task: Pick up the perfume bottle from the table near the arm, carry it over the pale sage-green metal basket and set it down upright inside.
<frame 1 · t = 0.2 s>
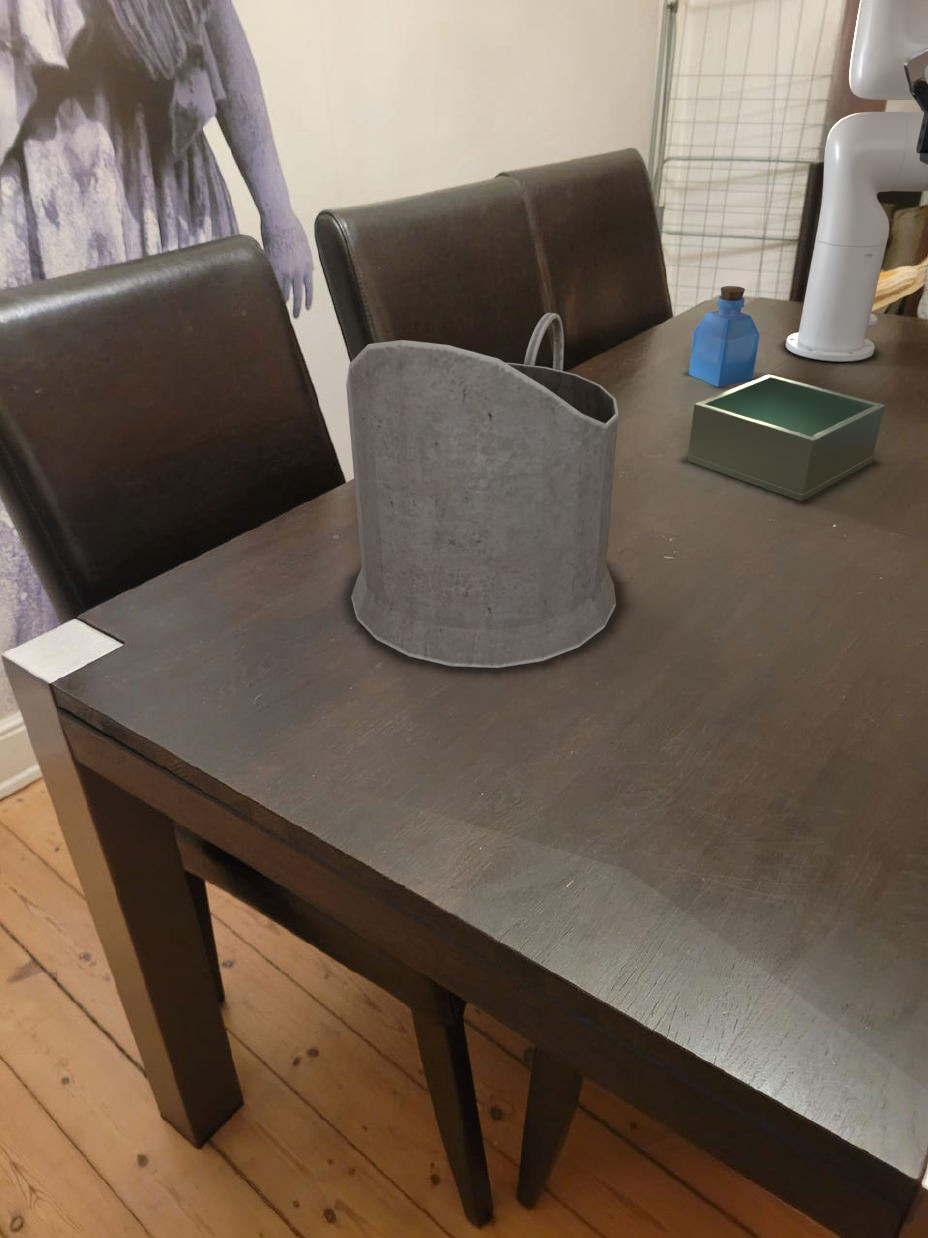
perfume bottle: (720, 378, 130), on the table
coal scuttle: (500, 571, 86), on the table
basket: (778, 461, 105), on the table
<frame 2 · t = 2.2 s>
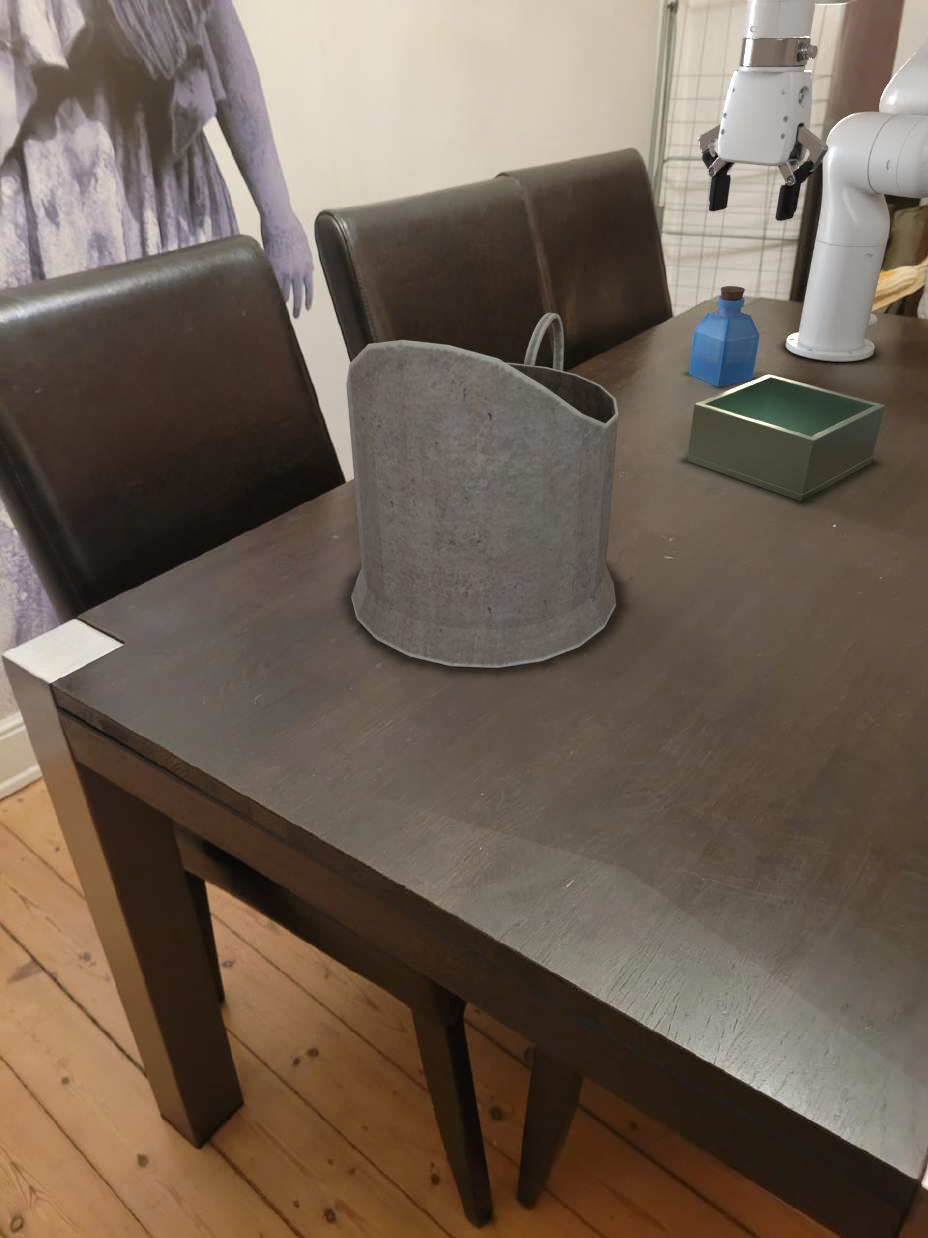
hand: (750, 214, 117), 21 cm above the table, tool pointing down, fingers open, 9 cm apart
nothing on the table moved.
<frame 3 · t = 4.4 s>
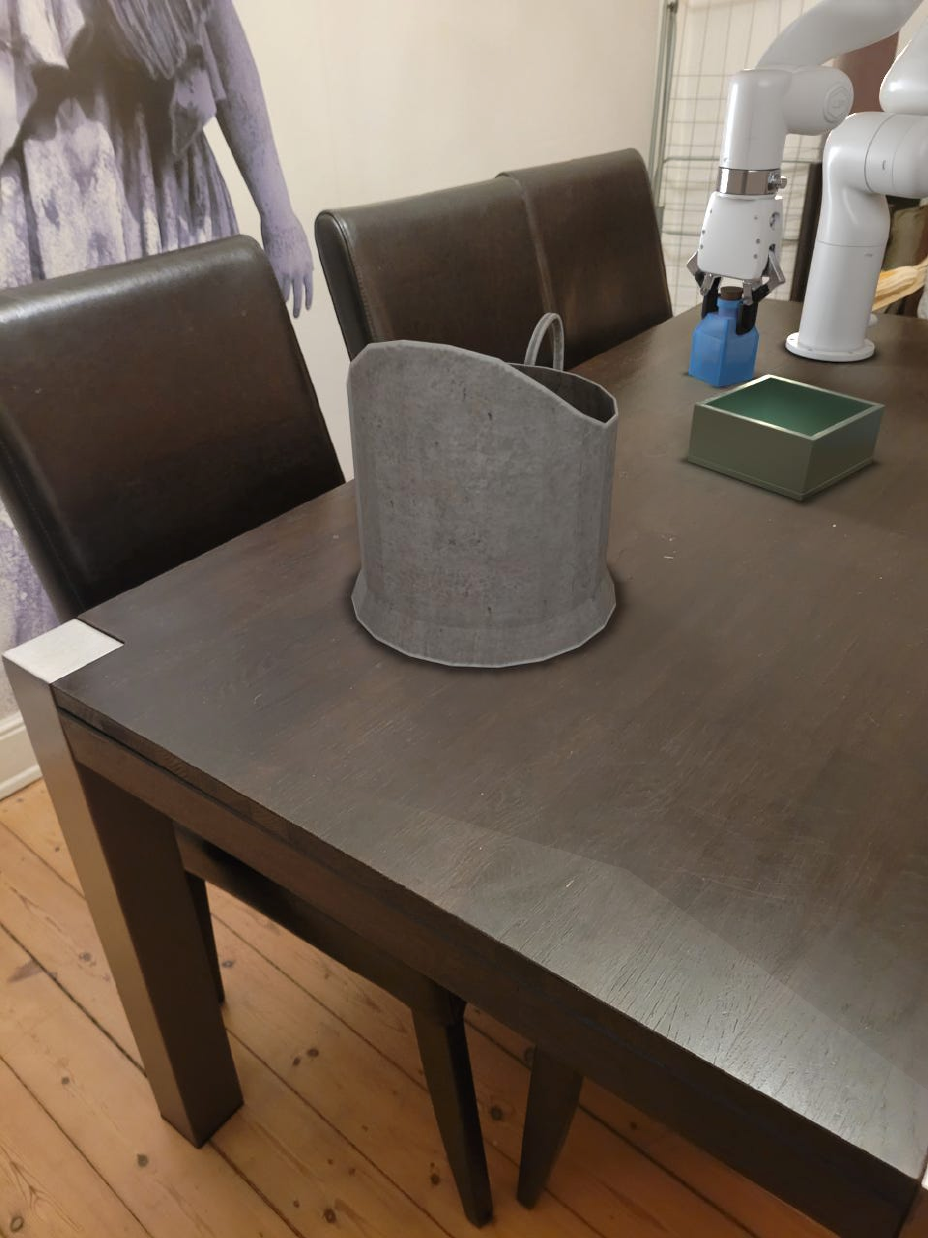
hand: (726, 327, 126), 7 cm above the table, tool pointing down, fingers closed on perfume bottle, 4 cm apart
perfume bottle: (720, 378, 130), on the table, touching gripper
everything else where it was.
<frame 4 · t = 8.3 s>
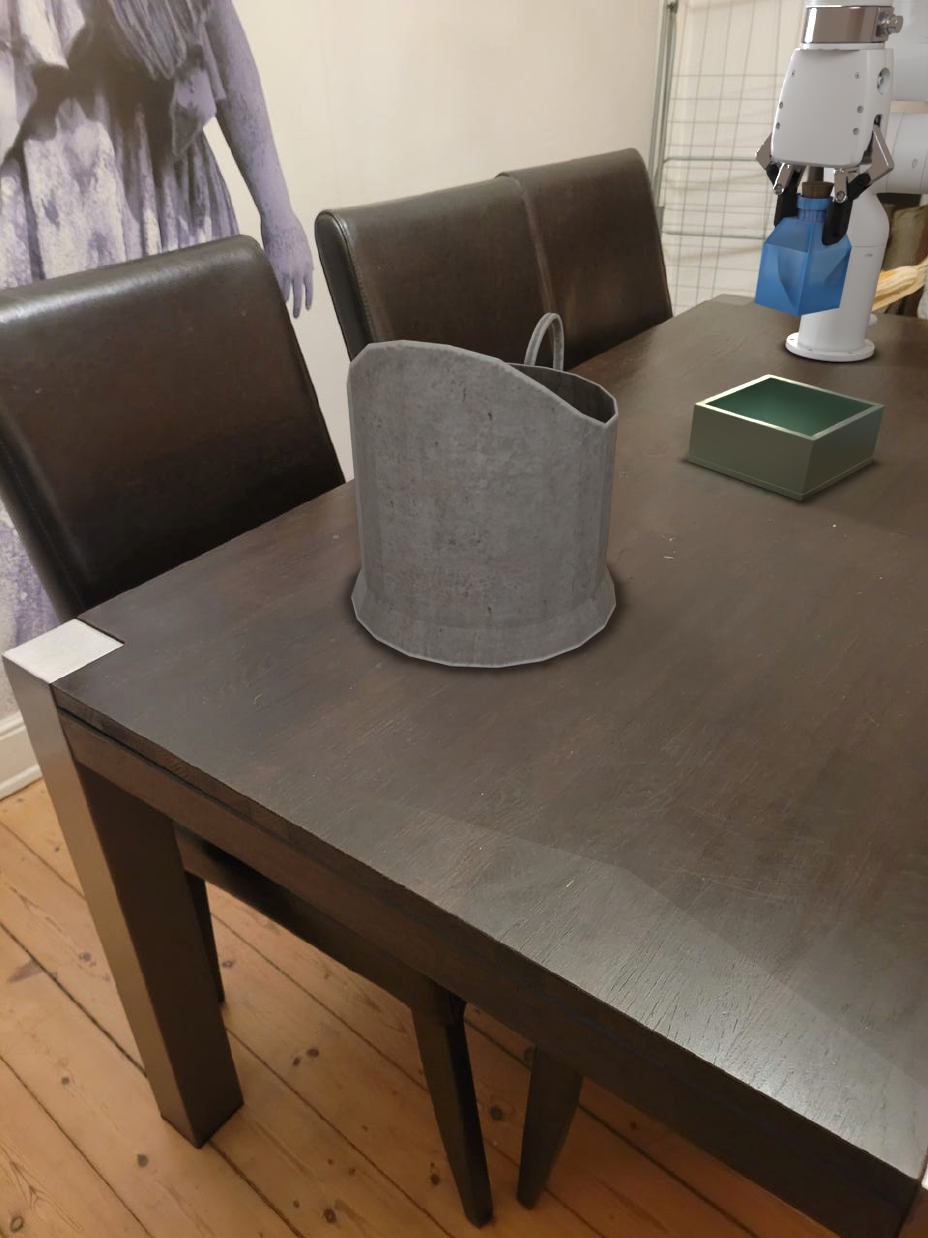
hand: (807, 237, 96), 23 cm above the table, tool pointing down, fingers closed on perfume bottle, 4 cm apart
perfume bottle: (796, 307, 100), point 16 cm above the table, touching gripper
everything else where it was.
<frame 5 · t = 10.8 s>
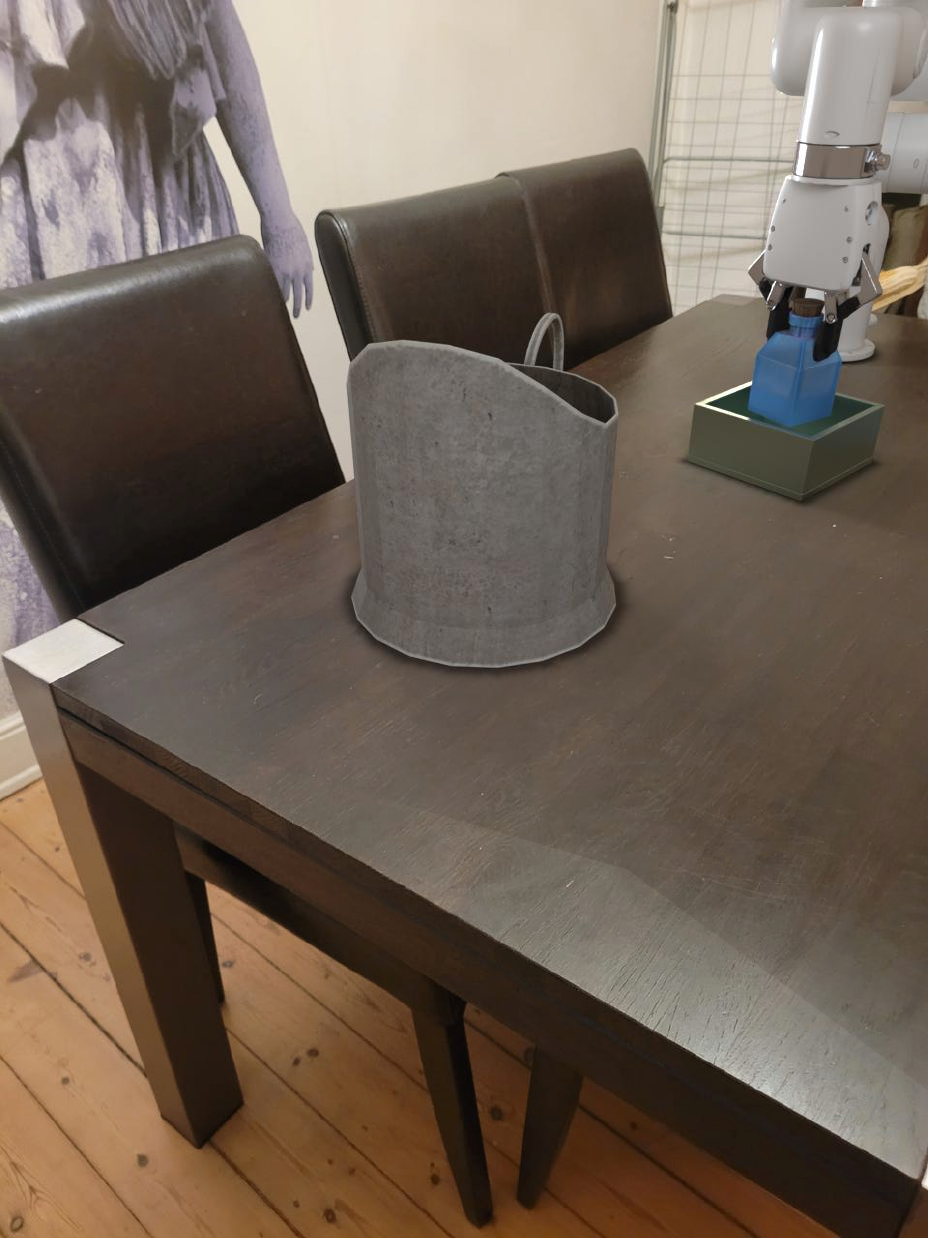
hand: (799, 350, 98), 13 cm above the table, tool pointing down, fingers closed on perfume bottle, 4 cm apart
perfume bottle: (788, 414, 102), point 6 cm above the table, touching gripper
everything else where it was.
when the fingers open (8 cm above the table, at t = 12.4 s): perfume bottle stays where it is, resting on basket.
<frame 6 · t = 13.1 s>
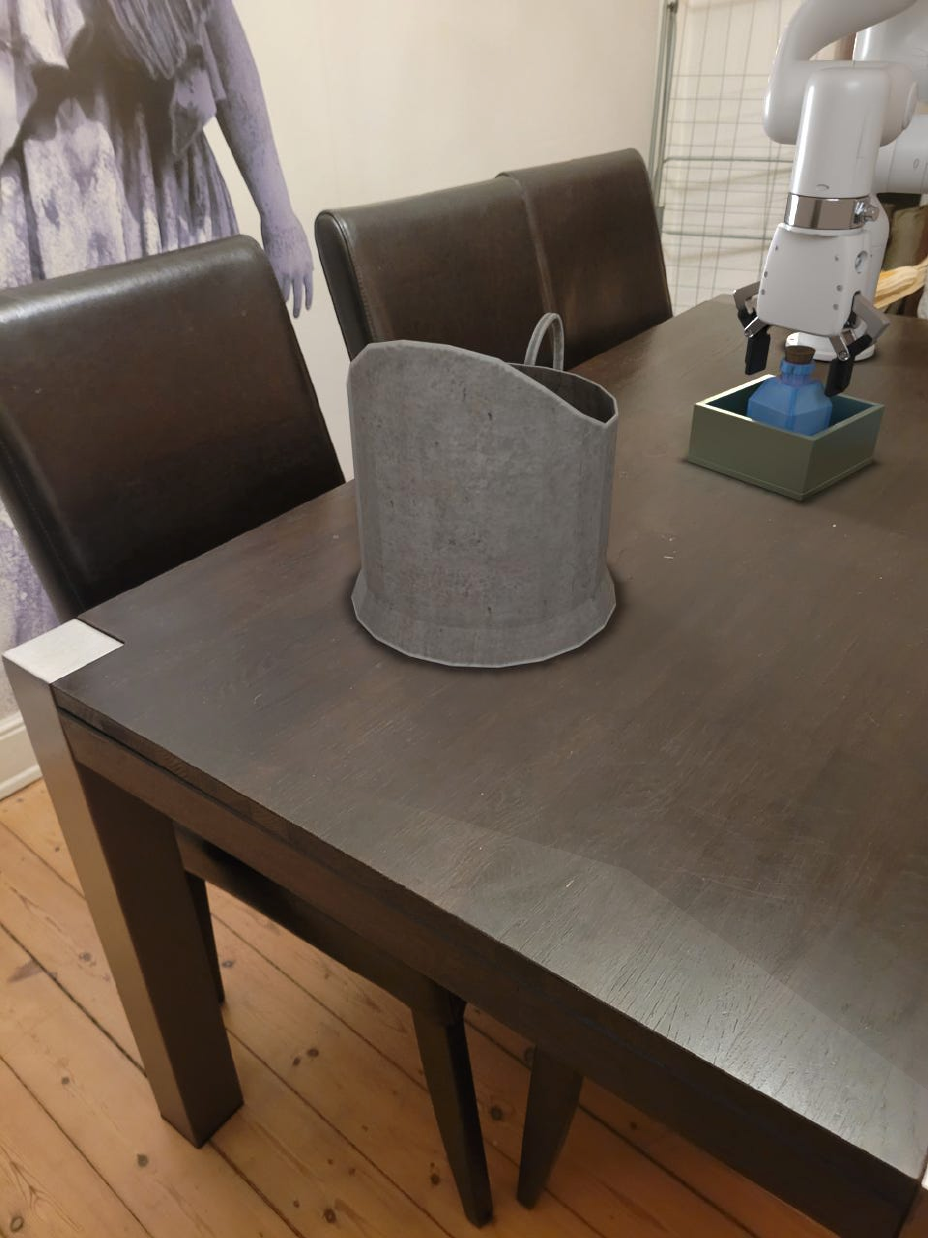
hand: (793, 382, 100), 9 cm above the table, tool pointing down, fingers open, 9 cm apart
perfume bottle: (780, 456, 105), point 1 cm above the table, touching basket
everything else where it was.
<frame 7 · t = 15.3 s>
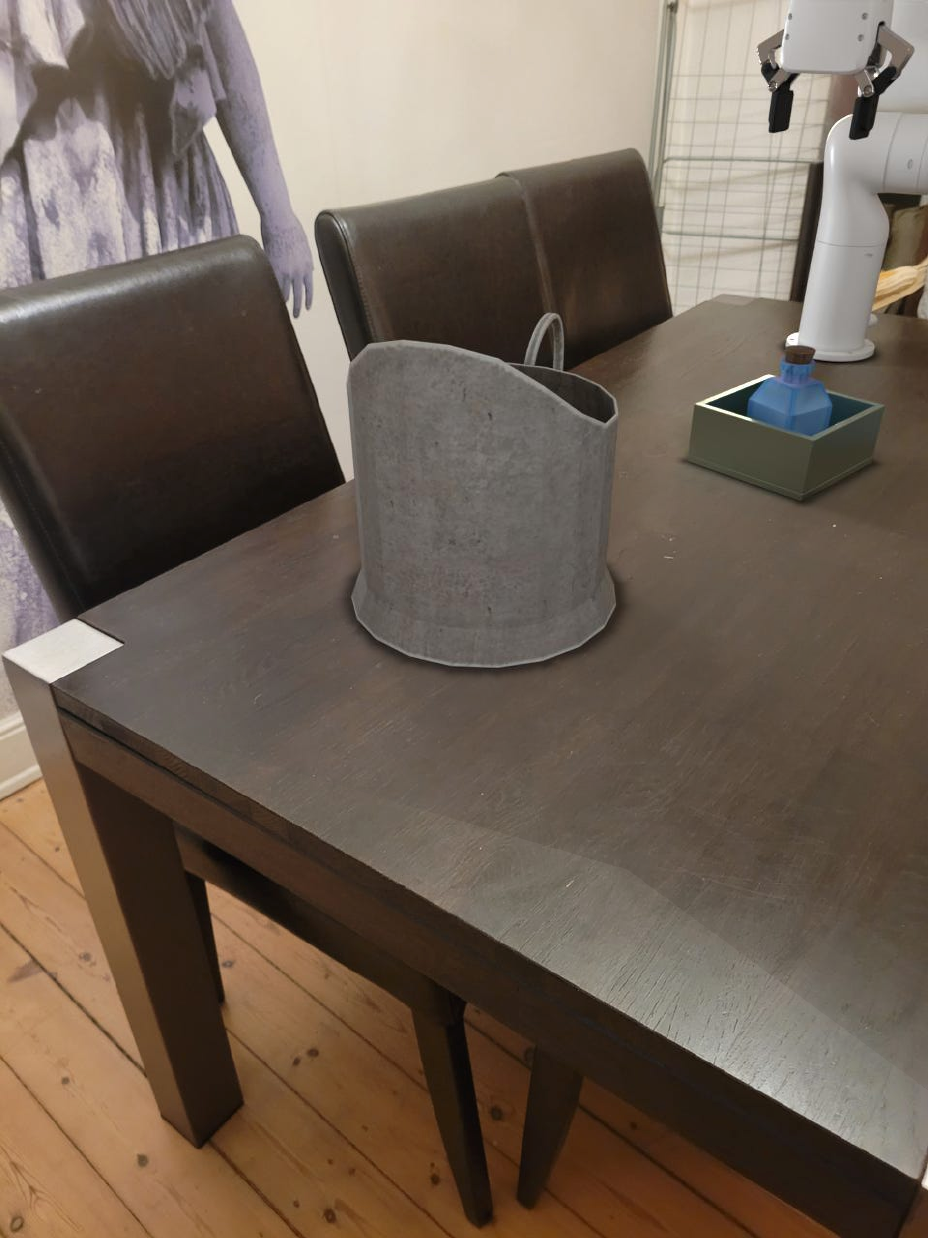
hand: (817, 134, 102), 32 cm above the table, tool pointing down, fingers open, 9 cm apart
nothing on the table moved.
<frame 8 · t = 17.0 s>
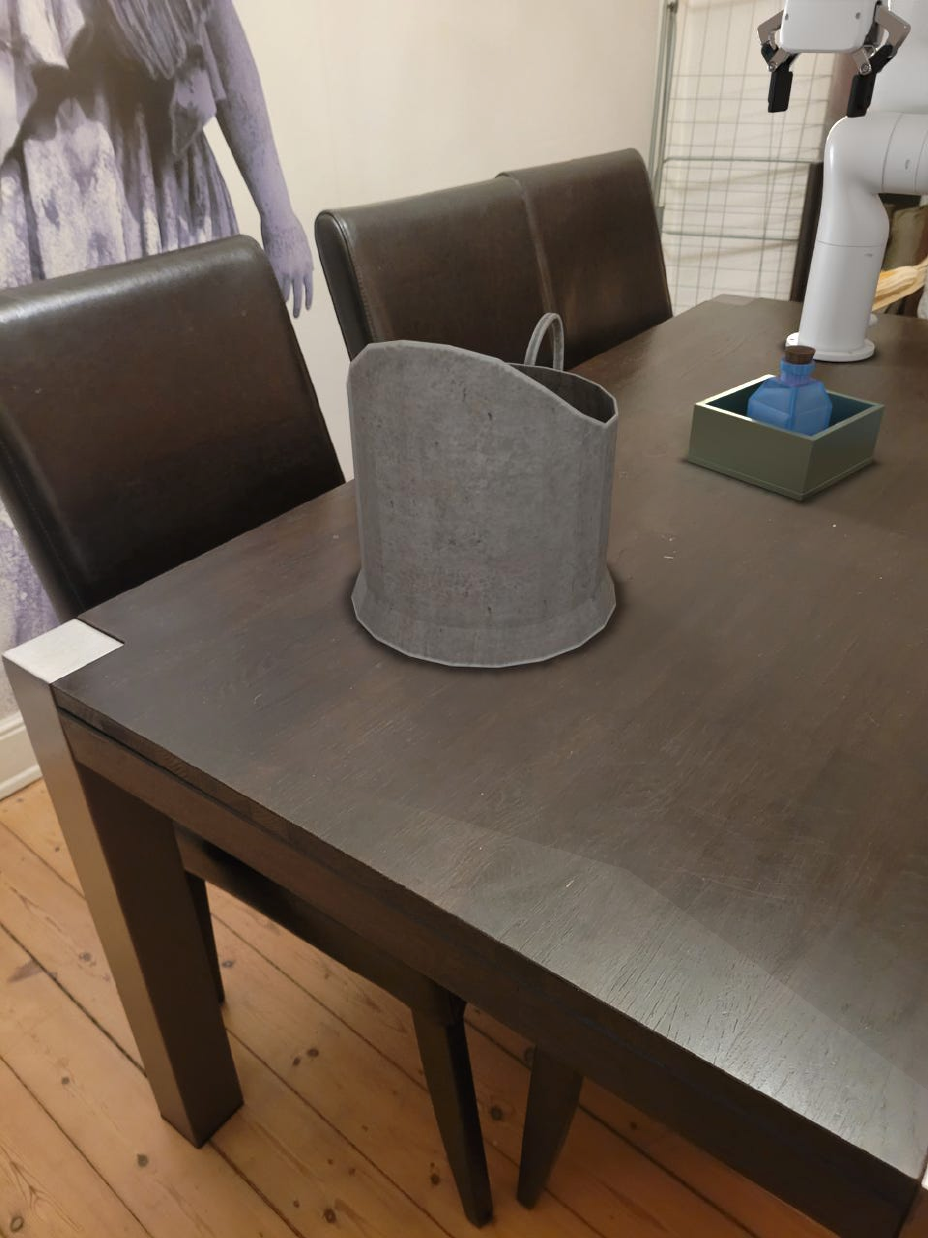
hand: (815, 114, 103), 33 cm above the table, tool pointing down, fingers open, 9 cm apart
nothing on the table moved.
at the end: perfume bottle inside the target area in the basket (0.2 cm from its centre), point 0.6 cm above the basket's base; perfume bottle tilted 0°; the gripper is holding nothing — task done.
